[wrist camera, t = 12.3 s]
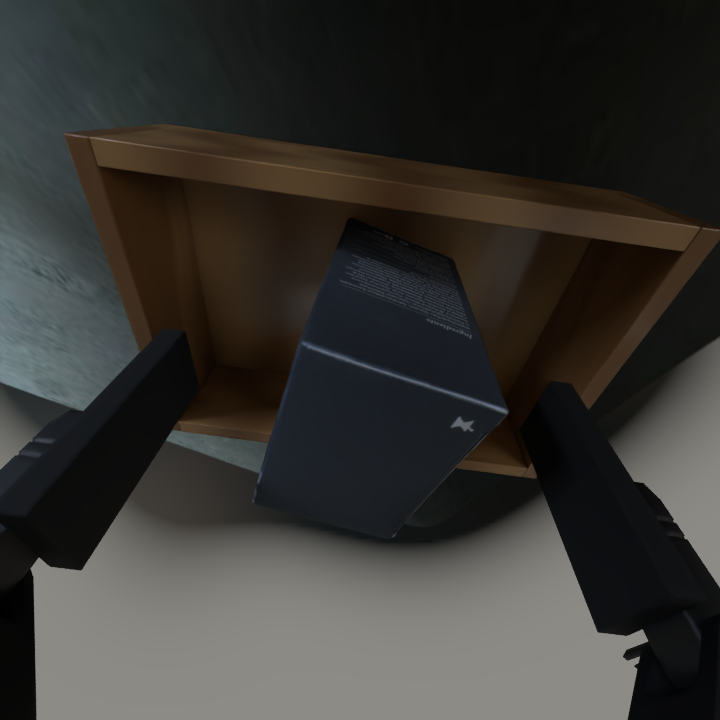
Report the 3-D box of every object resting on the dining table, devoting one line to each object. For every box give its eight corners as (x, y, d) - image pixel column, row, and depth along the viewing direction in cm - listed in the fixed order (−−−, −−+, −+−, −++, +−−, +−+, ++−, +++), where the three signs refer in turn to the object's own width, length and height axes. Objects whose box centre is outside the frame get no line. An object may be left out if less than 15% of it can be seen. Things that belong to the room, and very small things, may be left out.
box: (347, 213, 16) (297, 339, 7) (455, 256, 17) (522, 414, 8) (305, 342, 20) (246, 509, 12) (392, 370, 21) (393, 546, 13)
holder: (211, 364, 23) (166, 429, 18) (164, 123, 15) (61, 132, 10) (507, 405, 23) (535, 479, 19) (624, 191, 15) (727, 230, 10)
